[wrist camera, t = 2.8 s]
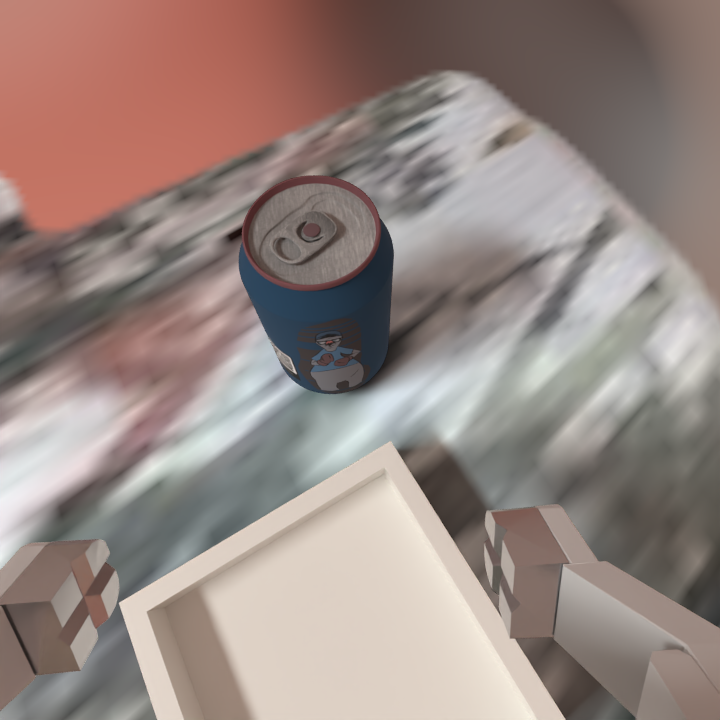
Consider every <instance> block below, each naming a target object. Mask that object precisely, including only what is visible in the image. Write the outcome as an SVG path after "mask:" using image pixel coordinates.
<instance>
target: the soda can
mask: <svg viewBox="0 0 720 720" xmlns="http://www.w3.org/2000/svg"><path fill="white" fill-rule="evenodd" d="M393 259H394V250H393V244H392V240H391V237H390V234H389V232H388V230H387V228H386V226H385V225H384V223H383V222H382V220H381V219H380V218H379V214H378V211H377V209H376V207H375V205H374V204H373V202H372V201H371V199H370V198H369V197H368V196H367V195H366V194H365V193H364V192H363V191H362V190H360V189H359V188H358V187H356V186H354V185H353V184H351V183H349V182H346V181H344V180H341V179H338V178H334V177H328V176H301V177H296V178H291V179H288V180H285V181H283V182H281V183H279V184H277V185H275V186H273V187H272V188H270V189H269V190H267V191H266V192H265V193H263V194H262V195H261V196H260V197H259V198H258V199H257V200H256V201H255V202H254V204H253V205H252V206H251V208H250V209H249V211H248V213H247V215H246V217H245V220H244V223H243V228H242V244H241V248H240V252H239V271H240V275H241V279H242V282H243V284H244V286H245V288H246V290H247V292H248V295H249V297H250V299H251V301H252V303H253V305H254V307H255V310H256V312H257V314H258V316H259V318H260V320H261V322H262V325H263V327H264V329H265V331H266V333H267V335H268V337H269V340H270V342H271V344H272V346H273V348H274V350H275V352H276V354H277V357H278V359H279V361H280V363H281V365H282V367H283V369H284V370H285V372H286V373H287V374H288V376H289V377H290V378H291V379H292V380H293V381H295V382H296V383H297V384H299V385H300V386H302V387H304V388H306V389H308V390H311V391H314V392H318V393H324V394H338V393H344V392H348V391H351V390H354V389H356V388H358V387H360V386H362V385H363V384H365V383H366V382H368V381H369V380H370V379H371V378H372V377H373V376H374V375H375V374H376V373H377V372H378V370H379V369H380V368H381V366H382V364H383V362H384V360H385V358H386V355H387V350H388V341H389V324H390V308H391V292H392V275H393Z"/></svg>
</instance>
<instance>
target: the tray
mask: <svg viewBox="0 0 720 720" xmlns="http://www.w3.org/2000/svg"><path fill="white" fill-rule="evenodd" d="M119 604H120V607H121V610H122V614H123V617H124V620H125V623H126V626H127V629H128V632H129V635H130V638H131V641H132V644H133V647H134V650H135V653H136V656H137V659H138V662H139V665H140V668H141V671H142V675H143V678H144V681H145V684H146V687H147V690H148V693H149V696H150V699H151V702H152V705H153V708H154V711H155V714H156V717H157V720H565V718H564V716H563V715H562V713H561V712H560V710H559V708H558V707H557V705H556V704H555V702H554V700H553V699H552V697H551V696H550V694H549V692H548V691H547V689H546V688H545V686H544V684H543V683H542V681H541V680H540V678H539V677H538V675H537V673H536V672H535V670H534V669H533V667H532V665H531V664H530V662H529V661H528V659H527V657H526V656H525V654H524V653H523V651H522V649H521V648H520V646H519V645H518V643H517V641H516V640H515V639H510V638H509V635H508V633H507V630H506V627H505V624H504V622H503V619H502V618H501V616H500V614H499V613H498V611H497V610H496V608H495V606H494V605H493V603H492V602H491V600H490V598H489V597H488V595H487V594H486V592H485V590H484V589H483V587H482V586H481V584H480V582H479V581H478V579H477V578H476V576H475V575H474V573H473V571H472V570H471V568H470V567H469V565H468V563H467V562H466V560H465V559H464V557H463V555H462V554H461V552H460V551H459V549H458V547H457V546H456V544H455V543H454V541H453V539H452V538H451V536H450V535H449V533H448V531H447V530H446V528H445V527H444V525H443V524H442V522H441V520H440V519H439V517H438V516H437V514H436V512H435V511H434V509H433V508H432V506H431V504H430V503H429V501H428V500H427V498H426V496H425V495H424V493H423V492H422V490H421V488H420V487H419V485H418V484H417V482H416V480H415V479H414V477H413V476H412V474H411V473H410V471H409V469H408V468H407V466H406V465H405V463H404V461H403V460H402V458H401V457H400V455H399V453H398V452H397V450H396V449H395V447H394V445H393V444H392V442H391V441H390V442H388V443H386V444H385V445H383V446H381V447H380V448H378V449H376V450H375V451H373V452H371V453H370V454H368V455H366V456H365V457H363V458H361V459H360V460H358V461H356V462H355V463H353V464H351V465H350V466H348V467H346V468H344V469H343V470H341V471H339V472H338V473H336V474H334V475H333V476H331V477H329V478H328V479H326V480H324V481H323V482H321V483H319V484H318V485H316V486H314V487H313V488H311V489H309V490H308V491H306V492H304V493H303V494H301V495H299V496H298V497H296V498H294V499H293V500H291V501H289V502H288V503H286V504H284V505H282V506H281V507H279V508H277V509H276V510H274V511H272V512H271V513H269V514H267V515H266V516H264V517H262V518H261V519H259V520H257V521H256V522H254V523H252V524H251V525H249V526H247V527H246V528H244V529H242V530H241V531H239V532H237V533H236V534H234V535H232V536H231V537H229V538H227V539H226V540H224V541H222V542H221V543H219V544H217V545H215V546H214V547H212V548H210V549H209V550H207V551H205V552H204V553H202V554H200V555H199V556H197V557H195V558H194V559H192V560H190V561H189V562H187V563H185V564H184V565H182V566H180V567H179V568H177V569H175V570H174V571H172V572H170V573H169V574H167V575H165V576H164V577H162V578H160V579H159V580H157V581H155V582H153V583H152V584H150V585H148V586H147V587H145V588H143V589H142V590H140V591H138V592H137V593H135V594H133V595H132V596H130V597H128V598H127V599H125V600H123V601H122V602H120V603H119Z"/></svg>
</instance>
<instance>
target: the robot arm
mask: <svg viewBox="0 0 720 720" xmlns="http://www.w3.org/2000/svg"><path fill="white" fill-rule="evenodd" d="M485 528H486V530H487V533H488V535H489V537H488V539H487V540H486V541H485V542H484V559H485V567H486V572H487V576H488V580H489V583H490V586H491V588H492V590H493V591H494V592H495V593H497V594H498V595H499V611H500V614H501V616H502V619H503V622H504V624H505V627H506V630H507V633H508V635H509V638H510V639H517V638H539V637H554V640H555V641H556V642H557V643H558V644H559V645H560V646H561V647H563V648H564V649H565V650H566V651H567V652H568V653H569V654H570V655H571V656H572V657H573V658H574V659H575V660H576V661H577V662H578V663H579V664H580V665H581V666H582V667H583V668H584V669H586V670H587V671H588V672H589V673H590V674H591V675H592V676H593V677H594V678H595V679H596V680H597V681H598V682H599V683H600V684H601V685H602V686H603V687H604V688H605V689H606V690H607V691H609V692H610V693H611V694H612V695H613V696H614V697H615V698H616V699H617V700H618V701H619V702H620V703H621V704H622V705H623V706H624V707H625V708H626V709H627V710H628V711H629V712H631V713H632V714H633V715H634V716H635V717H636V720H720V628H718V627H717V626H715V625H713V624H711V623H710V622H708V621H706V620H705V619H703V618H701V617H700V616H698V615H696V614H695V613H693V612H691V611H690V610H688V609H686V608H684V607H683V606H681V605H679V604H678V603H676V602H674V601H673V600H671V599H669V598H668V597H666V596H664V595H663V594H661V593H659V592H657V591H656V590H654V589H652V588H651V587H649V586H647V585H646V584H644V583H642V582H641V581H639V580H637V579H636V578H634V577H632V576H630V575H629V574H627V573H625V572H624V571H622V570H620V569H619V568H617V567H615V566H614V565H612V564H610V563H609V562H607V561H601V562H599V561H598V560H597V558H596V557H595V555H594V554H593V552H592V551H591V549H590V548H589V546H588V545H587V543H586V542H585V540H584V539H583V537H582V536H581V534H580V533H579V531H578V530H577V529H576V527H575V526H574V524H573V523H572V521H571V520H570V518H569V517H568V515H567V514H566V512H565V511H564V509H563V508H562V507H561V506H560V505H558V504H553V505H542V506H534V507H525V508H513V509H500V510H488V511H487V512H486V516H485ZM109 555H110V552H109V550H108V547H107V545H106V542H105V541H102V540H99V539H93V540H72V541H53V542H42V543H29V544H27V545H25V546H23V547H21V548H20V549H19V550H18V551H17V552H16V554H15V555H14V556H13V557H12V558H11V559H10V560H9V561H8V562H7V564H6V565H5V566H4V567H3V568H2V569H1V570H0V711H1V710H2V709H3V708H4V707H5V706H6V705H7V704H8V703H9V702H11V701H12V700H13V699H14V698H15V697H16V696H17V695H18V694H19V693H20V692H21V691H22V690H23V689H24V688H26V687H27V686H28V685H29V684H30V683H31V682H32V681H33V680H34V679H35V678H36V677H35V675H44V674H53V673H63V672H72V671H80V670H81V669H82V667H83V665H84V663H85V661H86V659H87V658H88V656H89V654H90V652H91V650H92V649H93V647H94V645H95V643H96V641H97V639H98V636H97V631H96V628H98V627H99V626H100V625H101V624H102V623H104V622H105V621H106V620H107V619H109V617H110V615H111V613H112V612H113V610H114V608H115V606H116V602H117V598H118V593H119V579H118V576H117V573H116V570H115V569H114V568H113V567H111V566H110V565H109V564H107V563H106V560H107V558H108V556H109Z"/></svg>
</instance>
